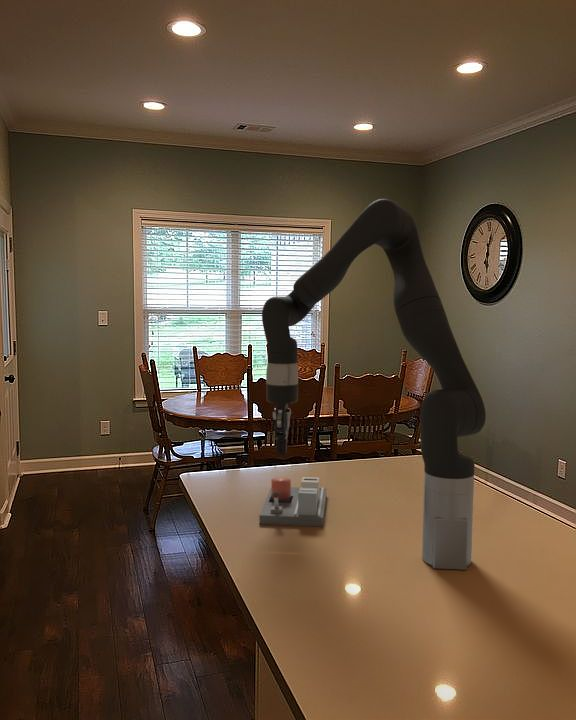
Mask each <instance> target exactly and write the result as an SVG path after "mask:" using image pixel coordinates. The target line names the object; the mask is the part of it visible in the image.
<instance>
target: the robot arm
mask: <svg viewBox="0 0 576 720" xmlns="http://www.w3.org/2000/svg"><path fill="white" fill-rule="evenodd" d="M416 224H417V223H416V222H415V219H414V217H413V216H412V214H411V213H410V212H409V211H408V210H407V209H405V208H404V207H402V206H400V205H399V204H398V203H396V202H395V201H393V200H391V199H388V198H379V199H376V200H374V201H373V202H371V203H369V205H368V206H366V207H365V208H364V210H363V211H362V212H361V213H360V214H359V215H358V216H357V217H356V218H355V220H354V221H353V222H352V223H351V225H350V226H349V227H348V229H346V230H345V232H344V233H343V234H341V236H340V237H339V239H338V240H337V241H336V242H335V243H334V244H333V245H332V247H331V248H330V249H329V250H328V252H327V253H326V254H324V255H323V256H322V257H321V258H320V259H319V260H318V261H317V262H316V263H314V264H313V265H312V266H311V267H310V268H309V269H308V270H306V271H305V272H304V273H303V274H302V275H300V276H299V278H297V280H295V282H294V283H293V286H292V287H293V289H292V291H291V292H289V294H287V295H286V296H272V297H270V298H268V299H267V300H266V301H265V302H264V305H263V307H262V311H261V320H262V327H263V331H264V336H265V339H266V344H267V364H266V372H265V373H266V378H265V380H266V381H265V382H266V383H265V386H266V387H265V389H266V390H265V397H266V398H265V399H266V402H268V403H269V404H275V407H274V409H273V410H272V418H273V422H272V423H273V430H274V438H275V439H276V455H278V456H285V455H286V454H287V452H288V451H287V445H288V444H287V443H288V441H287V440H288V439H287V438H288V437H289V431H290V430H289V429H290V425H291V415H292V409H291V408H289V404H295V403H297V402H298V400H299V369H298V368H299V367H298V342H297V340H296V339H295V338H294V337H291V333H290V327H293V326H296V325H297V324H298V323H300V322H302V320H303V319H304V318H306V316H307V315H308V314H309V313H310V312H311V311H312V310H313V308H314V307H315V305H316V304H317V303H319V302H320V301H322V300H323V299H324V298H326V296H328V295H329V294H330V293H331V292H333V291H334V290H335V289H336V288H337V287H338V286H339V285H340V284H341V282H342V281H343V279H344V277H345V276H346V274H347V272H348V270H349V268H350V266H351V265H352V263H353V262H354V261H355V259H356V258H357V257H358V256H359V255H361V253H363V252H364V251H365V250H367V249H368V248H371V247H372V246H373V245H376V246H379V247H380V248H382V250H383V251H384V253H385V255H386V257H387V260H388V262H389V265H390V267H391V270H392V274H393V279H394V287H393V306H394V307H393V308H394V312H395V315H396V319H397V321H398V323H399V324H398V325H399V327H400V329H401V332H402V335H403V337H404V339H405V340H406V341H407V343H408V344H409V345H410V346H411V348H412V349H413V350H414V351H415V352H416V353H417V354H418V355H419V356H420V357H422V359H423V360H424V361H425V362H426V363H427V364H428V365H429V366H430V368H431V369H432V370H433V372H434V373H435V375H436V377H437V379H438V381H439V384H440V387H441V389H435V390H431V391H429V392H428V393H427V394H425V396H424V398H423V399H422V403H421V406H420V414H419V421H420V423H419V425H420V429H419V430H420V450H421V451H420V452H421V457H422V460H423V463H424V465H423V466H424V469H423V471H424V477H423V479H424V480H423V503H422V504H423V506H422V507H423V509H422V510H423V511H422V541H421V542H422V543H421V544H422V547H421V559H422V560H423V561H424V562H425V563H426V564H428V565H430V566H431V567H432V568H433V569H442V570H443V569H445V570H464V571H466V570H467V569H468V567H469V566H471V564H472V550H473V549H472V548H473V521H474V518H473V517H474V495H475V494H474V490H475V460H474V459H473V458H472V457H471V456H468V455H467V454H463V453H460V451H459V446H458V444H459V443H458V438H461V437H468V436H473V435H476V434H479V433H480V432H481V431H482V430H483V428H484V427H485V423H486V419H487V418H486V415H487V413H486V408H485V404H484V403H485V402H484V400H483V398H482V396H481V393H480V391H479V389H478V387H477V384H476V382H475V381H474V379H473V377H472V374H471V373H470V371H469V368H468V367H467V365H466V363H465V360H464V358H463V356H462V354H461V353H462V352H461V351H460V348H459V346H458V343H457V341H456V338H455V337H454V334H453V331H452V328H451V325H450V323H449V320H448V316H447V313H446V311H445V308H444V305H443V302H442V300H441V297H440V295H439V291H438V290H437V288H436V285H435V282H434V280H433V277H432V275H431V273H430V270H429V268H428V266H427V263H426V260H425V257H424V253H423V249H422V245H421V242H420V236H419V231H418V229H417V225H416Z"/></svg>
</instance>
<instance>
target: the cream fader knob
mask: <svg viewBox="0 0 576 720" xmlns="http://www.w3.org/2000/svg"><path fill="white" fill-rule="evenodd" d="M300 484H301V485H300V488H317V503H318V501H319V488H320V477H313V476H311V477H310V476H309V477H307V476H306V477H305V476H303V477H302V478H301V481H300Z"/></svg>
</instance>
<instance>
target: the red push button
mask: <svg viewBox="0 0 576 720" xmlns="http://www.w3.org/2000/svg"><path fill="white" fill-rule="evenodd" d="M291 482H292V480H291V479H290V478H288V477H275V478H272V479H271V482H270V483H271V487H270V489H271V497H272V498H273V499H274V497H273V493H274V492H278V493H279V497H278V500H284V499H289V498H290V497H291V487H292V486H291V485H292V483H291Z"/></svg>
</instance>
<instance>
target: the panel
mask: <svg viewBox="0 0 576 720" xmlns="http://www.w3.org/2000/svg"><path fill="white" fill-rule="evenodd" d="M299 488H301V486H299V487H294V486H291V497H290V498H289V499H284V500H278V497H279V493H278V492H274V493H273V497H274V499H273V498H272V497H271V488H270V490H269V492H268V494H267V497H266V499H265V501H264V503H263V506H262V508H261V510H260V513H259V516H258V517H259V519H258V520H259V523H258V524H259V525H271V526H272V525H273V526H274V525H275V526H295V527H296V526H297V527H299V526H302V527H322V528H323V526H324V518H325V510H326V502H327V488H324V487H323V486H322V487H321V488H320V487H319V501H318V503H317V514H316V516H310V515H298V492H299Z"/></svg>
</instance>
